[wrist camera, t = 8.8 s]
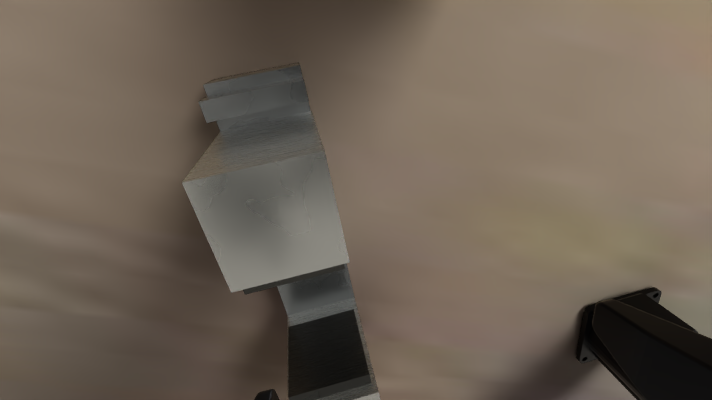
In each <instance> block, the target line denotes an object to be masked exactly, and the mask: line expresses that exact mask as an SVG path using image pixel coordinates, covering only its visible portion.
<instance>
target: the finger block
mask: <svg viewBox="0 0 712 400" xmlns="http://www.w3.org/2000/svg"><path fill="white" fill-rule="evenodd" d="M182 184H183V187H184V189H185V191H186V193H187V196H188V198H189V200H190V202H191V204H192V207H193V209H194V211H195V213H196V216H197V218H198V220H199V222H200V224H201V227H202V229H203V231H204V233H205V236H206V238H207V240H208V242H209V244H210V247H211V249H212V251H213V253H214V256H215V258H216V260H217V262H218V264H219V267H220V269H221V271H222V273H223V276H224V278H225V280H226V282H227V284H228V287H229V289H230V291H231V293H232V292H236V291H240V290H243V291H244V294H249V293H253V292H257V291H261V290H265V289H269V288H273V287H277V286H280V285H284V284H288V283H292V282H296V281H300V280H304V279H308V278H312V277H315V276H319V275H323V274H327V273H331V272H335V271H339V270H343V269H345V266H344V264H345V263H349V262H350V261H349V257H348V252H347V248H346V244H345V239H344V235H343V230H342V226H341V222H340V217H339V213H338V208H337V204H336V199H335V195H334V191H333V186H332V182H331V177H330V173H329V169H328V164H327V160H326V155H325V151H324V148H323V145H322V142H321V139H320V136H319V132H318V129H317V126H316V123H315V120H314V117H313V114H312V111H311V112H306V113H301V114H297V115H292V116H287V117H283V118H278V119H273V120H269V121H264V122H259V123H255V124H250V125H245V126H241V127H236V128H231V129H227V130H222V131H220V133H219V134H218V135H217V137H216V138H215V139H214V141H213V142H212V143H211V145H210V146H209V147H208V149H207V150H206V151H205V153H204V154H203V155H202V157H201V158H200V159H199V161H198V162H197V163H196V165H195V166H194V167H193V169H192V170H191V171H190V173H189V174H188V175H187V177H186V178H185V179H184V180H183V182H182Z"/></svg>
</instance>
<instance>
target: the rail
mask: <svg viewBox="0 0 712 400" xmlns="http://www.w3.org/2000/svg"><path fill="white" fill-rule="evenodd" d="M203 86H204V89H205V91H206V94H207V97H205V98H204V99H202V100H201V101H199V104H200V107H201V110H202V112H203V115H204V118H205V120H206V123H209V122H213V121H217V124H218V127H219V130H220V131H222V130H227V129H231V128H236V127H241V126H245V125H250V124H255V123H259V122H264V121H269V120H273V119H278V118H283V117H287V116H292V115H297V114H301V113H306V112H311V111H310V107H309V102H308V101H309V100H308V96H307V92H306V87H305V83H304V79H303V77H302V73H301V68H300V65H299V62H298V63H293V64H288V65H283V66H278V67H273V68H268V69H263V70H259V71H254V72H249V73H244V74H239V75H234V76H229V77H224V78H219V79H214V80H212V81H210V82H208V83H206V84H204V85H203ZM344 266H345V269H343V270H339V271H335V272H331V273H327V274H323V275H319V276H315V277H312V278H308V279H304V280H300V281H296V282H292V283H288V284H284V285H280V286H277V288H278V290H279V293H280V296H281V299H282V301H283V304H284V307H285V310H286V312H287V315H288V371H287V400H380V396H379V392H378V388H377V384H376V380H375V376H374V372H373V368H372V364H371V360H370V356H369V353H368V349H367V345H366V341H365V337H364V333H363V329H362V325H361V321H360V317H359V313H358V310H357V306H356V302H355V298H354V294H353V289H352V285H351V281H350V277H349V272H348V268H347V264H346V263H345V264H344Z"/></svg>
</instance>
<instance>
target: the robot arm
mask: <svg viewBox="0 0 712 400" xmlns="http://www.w3.org/2000/svg"><path fill="white" fill-rule="evenodd" d="M660 297H661V291H660V290H658V289H657V288H655V287H653V288H649V289H646V290H642V291H639V292H635V293H632V294H628V295H625V296H621V297H618V298H614V299H608V300H604V301H600V302H598V303H597V304H593V305H590V306H588V307H587V308H586V309H585V311H584V316H583V322H582V327H581V333H580V338H579V344H578V349H577V355H576V358H577V360H578V361H579V362H580V363H585V362H589V361H592V360H595V359H598V360H599V361H600V362H601V363H602V364H603V365H604V366H605V367H606V368H607V369H608V370H609V371H610V372H611V373H612V375H613V376H614V377H615V378H616V379H617V380H618V381H619V382H620V383H621V384H622V385H623V386H624V387H625V388H626V389H627V390H628V391H629V392H630V393H631V394H632V395H633V396H634V397H635V398H636V399H637V400H712V339H711V338H708V337H706V336H704V335H701V334H699V333H698V332H697V331H696V330H695V329H693V328H692V327H691V326H689V325H688V324H686V323H685V322H684V321H682V320H681V319H679V318H678V317H677V316H675V315H674V314H672V313H671V312H670V311H668V310H667V309H665V308H664V307H663V306H661V305H660V304H658V303H659V300H660ZM254 400H279V398H278V396H277V393H276V391H275V390H274V389H270V390H266V391H262V392H260V393H258V394H257V396H256V397H255V399H254Z"/></svg>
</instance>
